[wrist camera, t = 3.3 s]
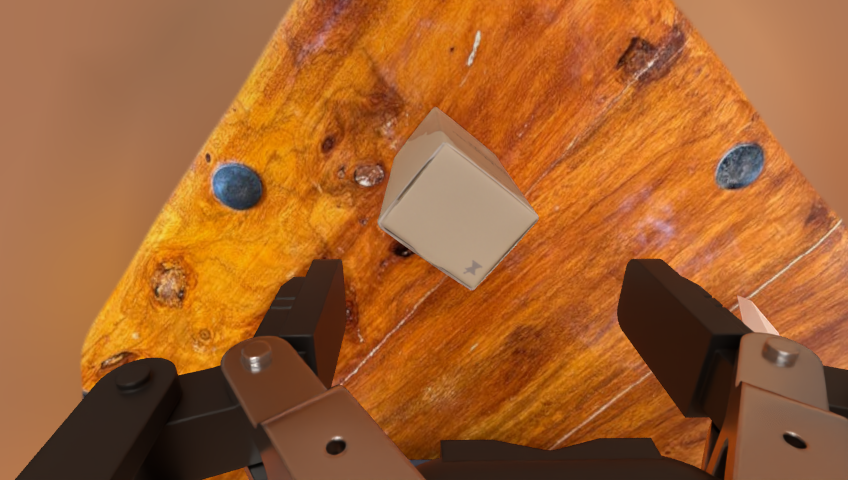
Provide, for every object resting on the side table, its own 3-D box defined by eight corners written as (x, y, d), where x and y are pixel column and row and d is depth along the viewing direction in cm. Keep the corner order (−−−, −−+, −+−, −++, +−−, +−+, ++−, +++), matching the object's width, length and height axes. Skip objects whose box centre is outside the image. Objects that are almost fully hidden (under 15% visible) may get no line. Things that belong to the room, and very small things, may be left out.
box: (498, 156, 27) (549, 222, 17) (453, 208, 29) (476, 298, 18) (431, 101, 26) (444, 138, 16) (387, 159, 27) (373, 227, 17)
